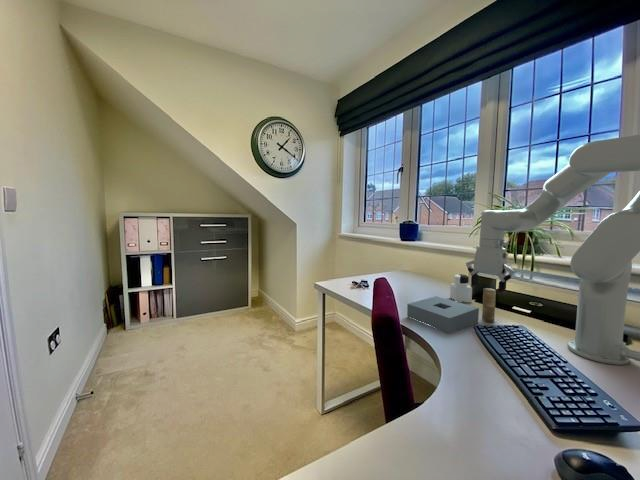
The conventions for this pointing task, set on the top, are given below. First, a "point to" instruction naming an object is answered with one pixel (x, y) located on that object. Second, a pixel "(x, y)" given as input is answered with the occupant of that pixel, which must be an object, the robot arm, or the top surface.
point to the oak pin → (488, 305)
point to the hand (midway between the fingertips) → (487, 288)
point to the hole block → (443, 313)
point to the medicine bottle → (461, 289)
